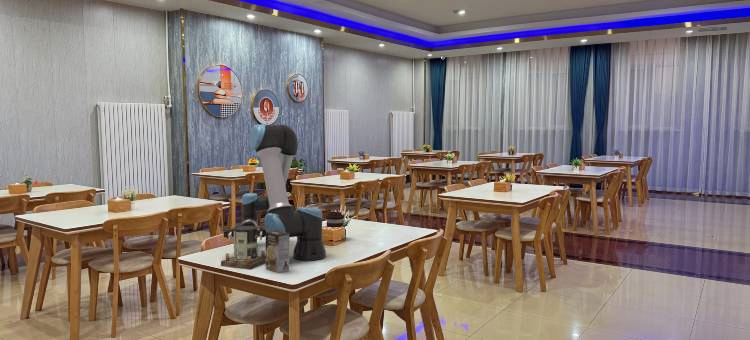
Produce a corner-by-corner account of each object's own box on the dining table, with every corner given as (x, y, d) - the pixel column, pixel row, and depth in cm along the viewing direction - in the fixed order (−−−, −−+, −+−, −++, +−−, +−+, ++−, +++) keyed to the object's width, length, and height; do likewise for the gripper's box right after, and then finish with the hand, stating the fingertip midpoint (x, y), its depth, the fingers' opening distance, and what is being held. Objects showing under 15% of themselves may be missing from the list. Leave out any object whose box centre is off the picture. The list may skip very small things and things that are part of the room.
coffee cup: (326, 242, 278) (326, 214, 277) (324, 238, 288) (324, 211, 287) (345, 241, 280) (345, 213, 279) (342, 237, 290) (342, 210, 289)
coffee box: (264, 269, 225) (264, 231, 224) (276, 266, 230) (276, 229, 229) (278, 273, 219) (278, 235, 218) (290, 270, 224) (290, 232, 223)
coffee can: (256, 255, 240) (256, 224, 239) (258, 261, 230) (258, 229, 229) (232, 256, 237) (232, 225, 236) (234, 262, 227) (233, 230, 226)
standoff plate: (269, 261, 238) (269, 250, 238) (250, 269, 224) (250, 257, 224) (241, 257, 243) (241, 247, 243) (220, 265, 229) (220, 254, 229)
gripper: (274, 235, 258) (273, 245, 237) (222, 236, 254) (216, 246, 233) (274, 220, 257) (273, 228, 237) (221, 221, 253) (215, 229, 233)
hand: (245, 237), depth 235 cm, fingers open, 13 cm apart
